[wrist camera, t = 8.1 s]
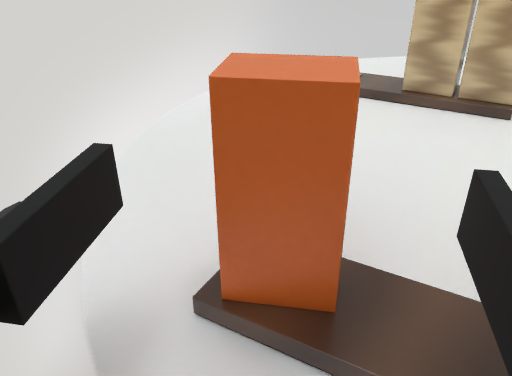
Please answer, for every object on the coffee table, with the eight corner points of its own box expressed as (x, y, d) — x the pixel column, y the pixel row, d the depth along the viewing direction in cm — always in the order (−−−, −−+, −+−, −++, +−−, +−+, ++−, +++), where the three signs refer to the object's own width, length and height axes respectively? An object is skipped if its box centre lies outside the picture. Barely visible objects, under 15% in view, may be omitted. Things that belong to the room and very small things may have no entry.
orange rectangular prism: (221, 299, 20) (208, 75, 15) (237, 252, 23) (231, 52, 18) (335, 313, 19) (360, 81, 14) (336, 261, 22) (357, 56, 17)
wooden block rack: (296, 87, 51) (301, -18, 46) (317, 75, 56) (323, -22, 50) (509, 120, 42) (546, -8, 36) (513, 101, 46) (546, -14, 41)
